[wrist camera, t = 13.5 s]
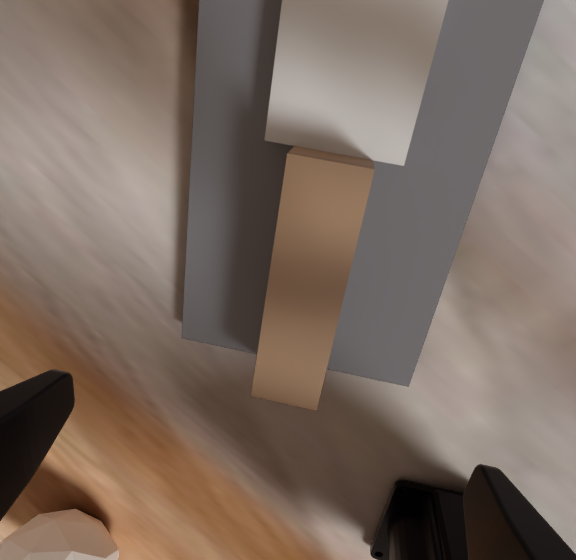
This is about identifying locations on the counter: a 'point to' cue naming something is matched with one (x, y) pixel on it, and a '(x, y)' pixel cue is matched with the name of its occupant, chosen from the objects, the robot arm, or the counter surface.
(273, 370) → the two-tone stepped block
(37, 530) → the ball
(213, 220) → the mat
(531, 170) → the counter surface
